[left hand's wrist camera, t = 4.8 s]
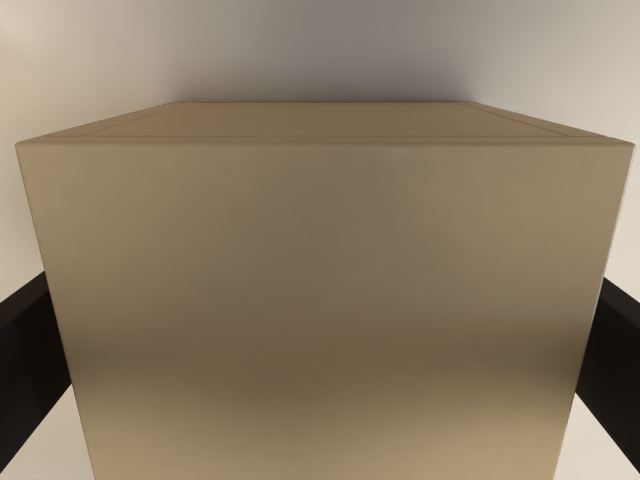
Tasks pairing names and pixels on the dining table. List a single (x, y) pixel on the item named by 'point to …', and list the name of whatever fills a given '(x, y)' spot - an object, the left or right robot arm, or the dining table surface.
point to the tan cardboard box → (324, 286)
